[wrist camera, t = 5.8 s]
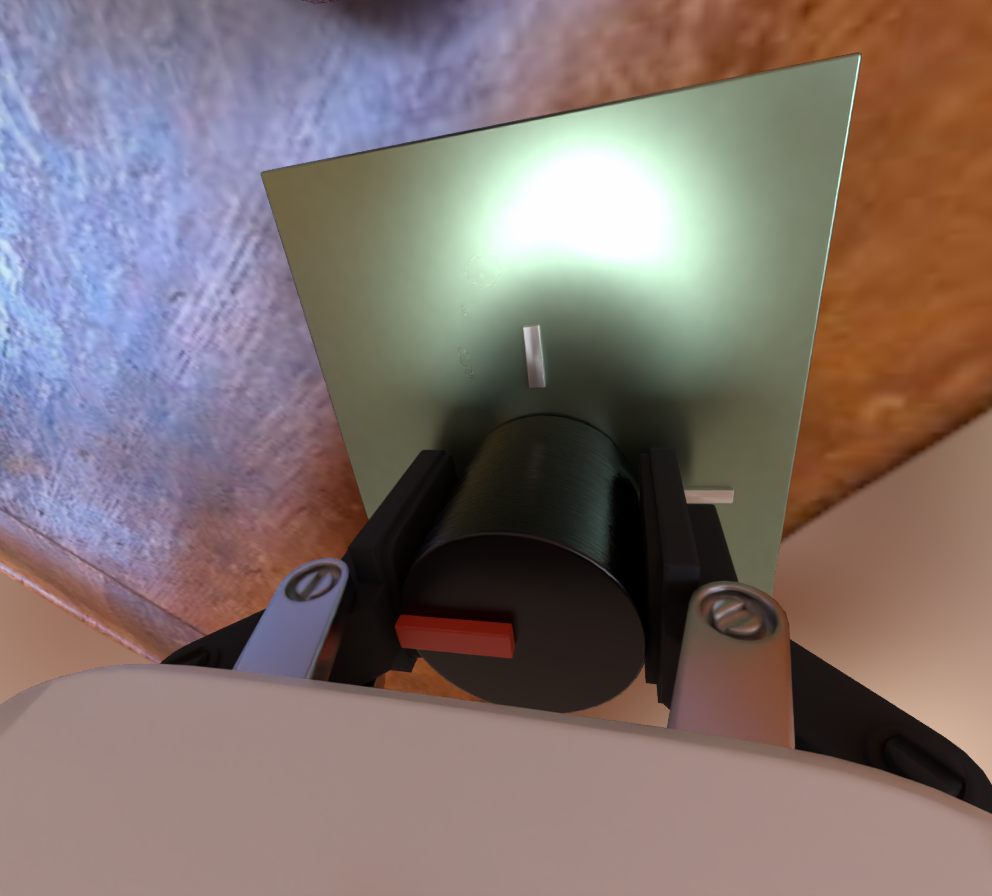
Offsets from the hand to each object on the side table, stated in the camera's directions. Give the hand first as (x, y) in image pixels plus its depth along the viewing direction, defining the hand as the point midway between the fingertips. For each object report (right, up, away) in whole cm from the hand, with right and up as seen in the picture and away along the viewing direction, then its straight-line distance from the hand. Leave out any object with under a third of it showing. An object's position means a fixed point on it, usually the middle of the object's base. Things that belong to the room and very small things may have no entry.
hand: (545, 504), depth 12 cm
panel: (+1, +3, +3) cm, 4 cm away
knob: (0, 0, +1) cm, 1 cm away
